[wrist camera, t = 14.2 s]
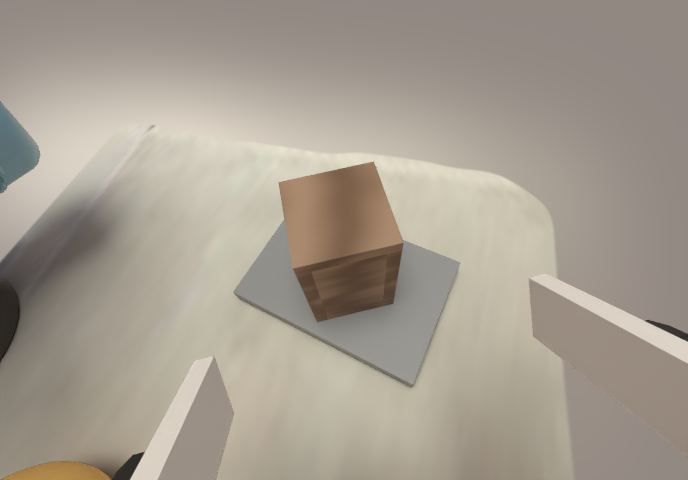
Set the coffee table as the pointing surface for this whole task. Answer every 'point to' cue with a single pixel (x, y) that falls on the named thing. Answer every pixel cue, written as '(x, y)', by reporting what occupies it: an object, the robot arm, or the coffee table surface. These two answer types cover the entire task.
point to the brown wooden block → (342, 240)
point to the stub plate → (366, 326)
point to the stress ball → (59, 472)
